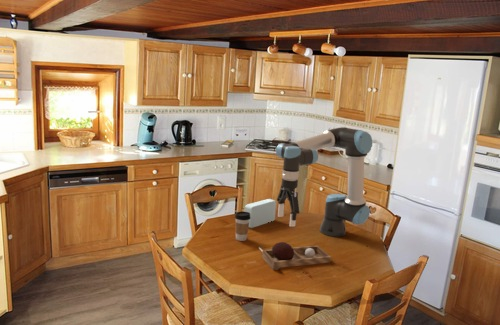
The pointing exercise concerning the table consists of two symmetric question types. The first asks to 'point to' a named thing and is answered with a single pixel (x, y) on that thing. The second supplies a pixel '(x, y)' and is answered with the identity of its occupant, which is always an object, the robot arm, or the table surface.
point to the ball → (309, 253)
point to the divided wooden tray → (296, 258)
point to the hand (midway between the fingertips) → (286, 221)
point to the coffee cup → (242, 225)
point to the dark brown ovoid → (283, 251)
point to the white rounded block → (261, 212)
